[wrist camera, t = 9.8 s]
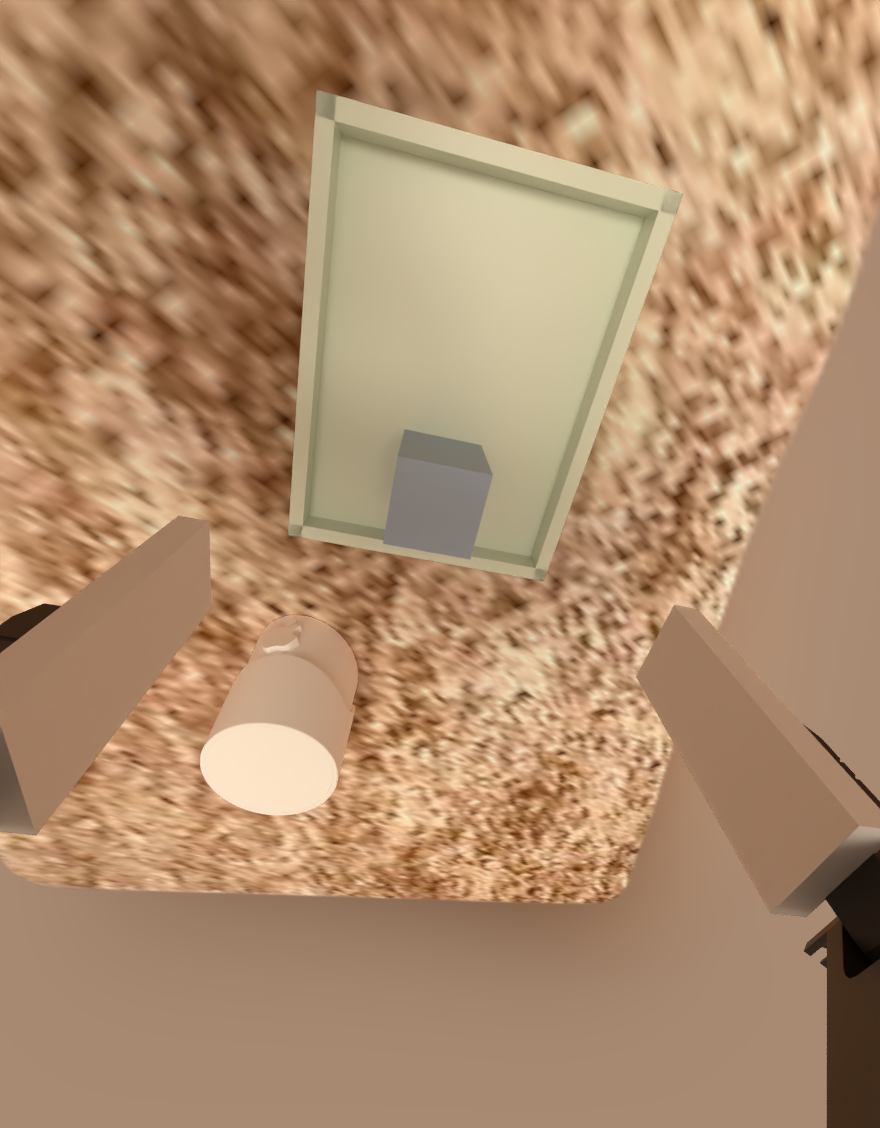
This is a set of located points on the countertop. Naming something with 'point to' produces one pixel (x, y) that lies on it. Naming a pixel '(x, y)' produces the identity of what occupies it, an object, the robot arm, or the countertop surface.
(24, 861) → the countertop surface
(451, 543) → the grey rectangular block
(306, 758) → the mug
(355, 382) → the tray
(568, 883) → the countertop surface
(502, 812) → the countertop surface
